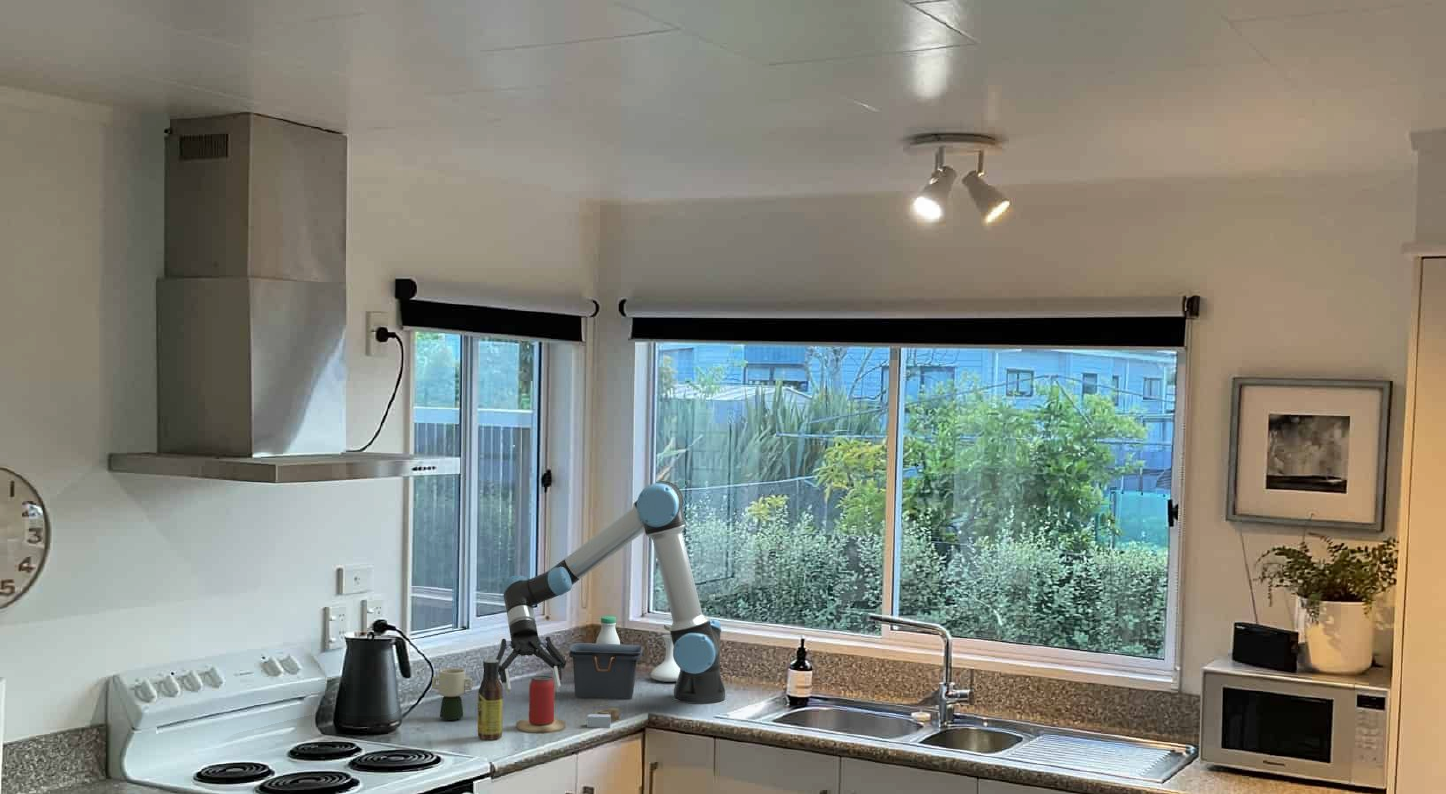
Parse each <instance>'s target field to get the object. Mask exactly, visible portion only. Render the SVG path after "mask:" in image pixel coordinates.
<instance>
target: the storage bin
mask: <svg viewBox="0 0 1446 794" xmlns="http://www.w3.org/2000/svg"><path fill="white" fill-rule="evenodd" d="M643 649H644V647H643V646H642V645H637V644H621V643H620V644H597V643H596V642H595V643H594V642H593V643H592V642H575V643H571V644H570V645H569V647H568V651H569V658H572V665H573V667H572V668H573V669H572V670H573V684H574V696H575V697H576V698H578V699H581V698H582V699H583V698H584V699H611V700H612V699H613V700H631V699H633V694H634V690H635V681H636V674H637V667H638V660H641V657H642V654H643V653H642V652H643Z"/></svg>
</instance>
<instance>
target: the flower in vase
mask: <svg viewBox="0 0 1446 794" xmlns="http://www.w3.org/2000/svg"><path fill="white" fill-rule="evenodd" d="M663 629H664V630H665V631H669V632H670V627H668V626H666V625H665V624H664V625H663ZM661 637H662V639H663V641H664V643H665V659H664V660H663V661H662V662H661V663H660V664H659V665H658V666H656V667H655V668H654V669H653V670H652V671H651V673H650V676H651V678H652V679H653V680H655V681H659V682H667V683H668V682H671V683H672V682H677V679H678V676H679V673H680V668H679V667H678V665H677V664H676V662H675V660H674V657H673V647H674V646H673V642H672V638H671V634H663V635H661Z"/></svg>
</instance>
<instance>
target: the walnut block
mask: <svg viewBox="0 0 1446 794" xmlns="http://www.w3.org/2000/svg"><path fill="white" fill-rule="evenodd" d="M597 714H611V723H614V722H616V721H619V720H620V708H613V707H609V708H606V709H602V710H600V711H599V710H598V711H597Z"/></svg>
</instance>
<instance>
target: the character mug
mask: <svg viewBox="0 0 1446 794" xmlns="http://www.w3.org/2000/svg"><path fill="white" fill-rule="evenodd" d="M466 673H467V671H466V669H464V668H458V667H457V668H456V667H455V668H443V669H440V670H439V671H438V676H433V677H432V678H431V681H432V682H431V688H432V689H433V690H438V694H439V695H440V696H442V699H441V705H440V711H439V717H440V719H442V720H451V721H452V720H458V719H460V718H463V717H464V711H463V709H464V708H463V700H462V697H461V696H464V695H465V692H466V691H472V690H473V679H472V678H471V677H466ZM437 681H438V685H436V682H437ZM466 682H468V686H466Z"/></svg>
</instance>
